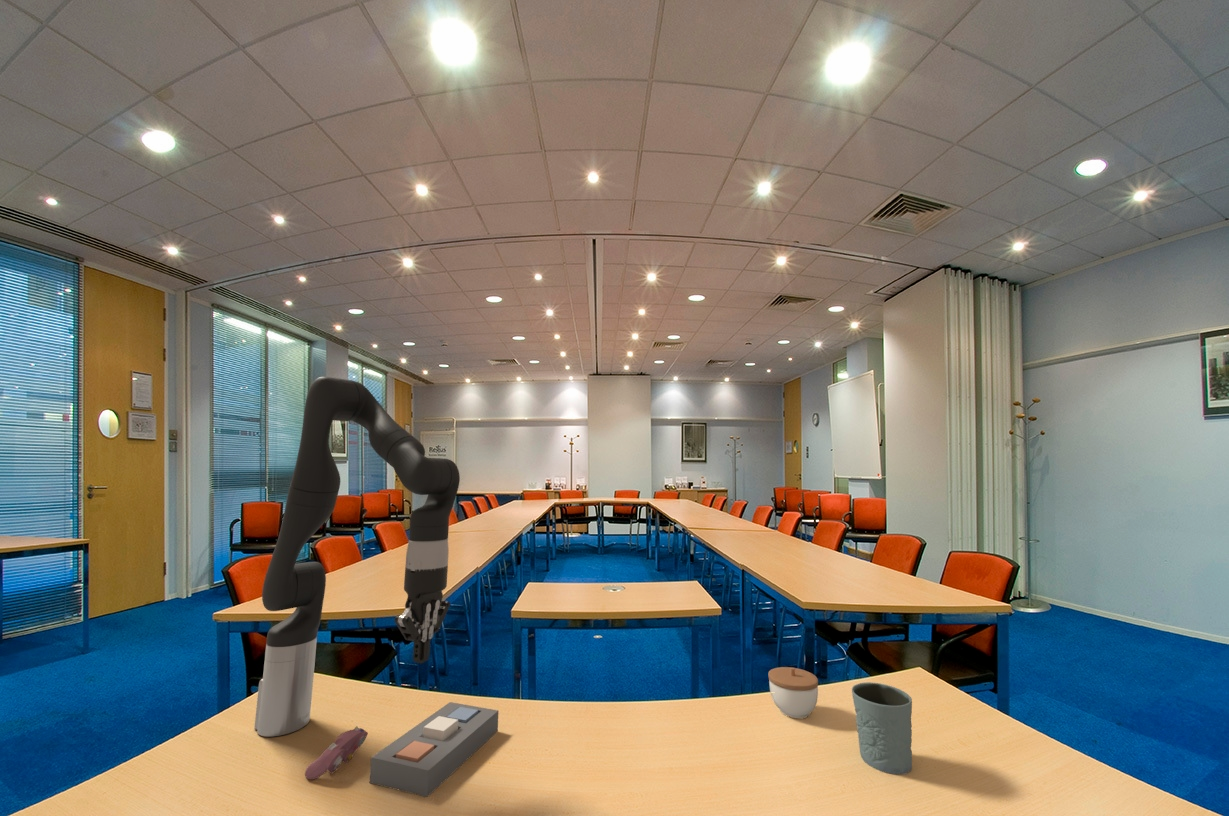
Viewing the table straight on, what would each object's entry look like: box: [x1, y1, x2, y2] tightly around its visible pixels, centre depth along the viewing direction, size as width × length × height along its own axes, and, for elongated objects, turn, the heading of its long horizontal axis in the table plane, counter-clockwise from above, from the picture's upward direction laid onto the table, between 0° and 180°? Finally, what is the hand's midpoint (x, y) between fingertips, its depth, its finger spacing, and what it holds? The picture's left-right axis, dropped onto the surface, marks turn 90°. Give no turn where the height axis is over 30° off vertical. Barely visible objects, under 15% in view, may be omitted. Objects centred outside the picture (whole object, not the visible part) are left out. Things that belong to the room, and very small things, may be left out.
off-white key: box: [423, 716, 458, 742], centre depth 92 cm, size 4×4×2 cm
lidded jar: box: [768, 666, 819, 719], centre depth 110 cm, size 11×11×9 cm
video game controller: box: [304, 726, 369, 780], centre depth 88 cm, size 10×5×7 cm, turn 169°
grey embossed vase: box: [851, 681, 913, 775], centre depth 91 cm, size 10×10×12 cm
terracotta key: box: [396, 741, 434, 763], centre depth 86 cm, size 4×4×2 cm
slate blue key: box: [447, 707, 478, 723], centre depth 99 cm, size 4×4×2 cm
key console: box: [369, 701, 499, 798], centre depth 92 cm, size 12×22×4 cm, turn 162°
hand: (420, 661), depth 88 cm, fingers closed
